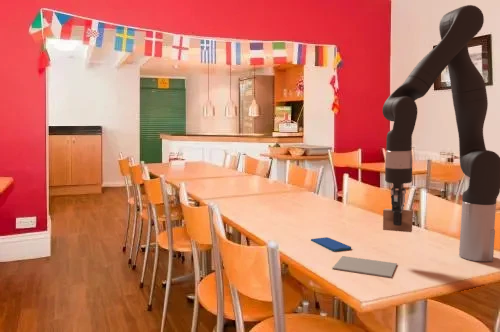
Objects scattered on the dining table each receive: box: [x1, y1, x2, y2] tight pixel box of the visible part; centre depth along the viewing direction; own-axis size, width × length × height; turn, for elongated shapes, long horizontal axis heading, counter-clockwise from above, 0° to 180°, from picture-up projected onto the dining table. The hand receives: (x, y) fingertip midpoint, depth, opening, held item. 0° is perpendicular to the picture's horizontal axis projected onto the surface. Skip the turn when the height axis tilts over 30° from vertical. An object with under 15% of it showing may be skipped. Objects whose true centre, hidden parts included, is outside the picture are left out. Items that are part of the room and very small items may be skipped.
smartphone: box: [310, 237, 352, 252], centre depth 151 cm, size 7×1×15 cm
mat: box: [332, 255, 398, 278], centre depth 129 cm, size 16×12×1 cm
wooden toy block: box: [382, 208, 413, 233], centre depth 133 cm, size 8×2×6 cm, turn 65°
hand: (397, 224), depth 133 cm, fingers closed on wooden toy block, 2 cm apart
